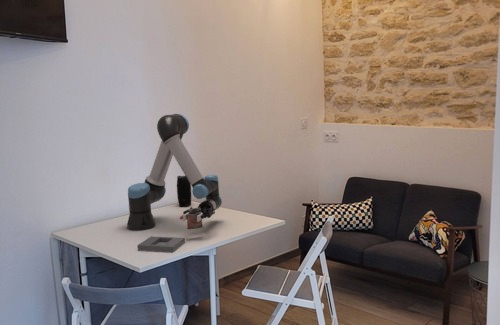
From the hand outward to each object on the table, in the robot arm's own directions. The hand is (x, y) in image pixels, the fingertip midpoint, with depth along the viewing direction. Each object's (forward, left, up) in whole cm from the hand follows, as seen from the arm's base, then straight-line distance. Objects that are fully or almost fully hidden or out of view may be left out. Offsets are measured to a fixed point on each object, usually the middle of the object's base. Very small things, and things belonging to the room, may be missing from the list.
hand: (190, 218), depth 232 cm
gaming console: (-19, +51, -12) cm, 56 cm away
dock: (-11, -10, -11) cm, 19 cm away
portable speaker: (-33, +71, -12) cm, 79 cm away
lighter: (0, +5, -6) cm, 8 cm away
